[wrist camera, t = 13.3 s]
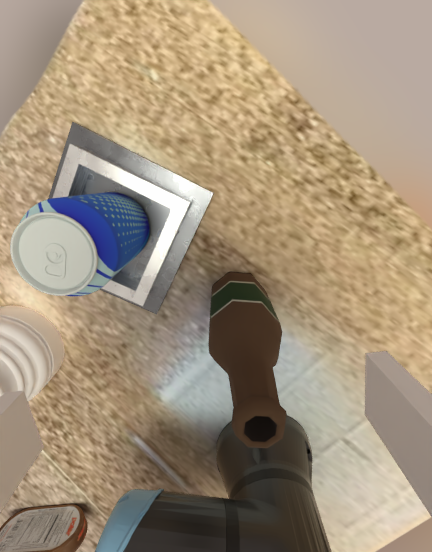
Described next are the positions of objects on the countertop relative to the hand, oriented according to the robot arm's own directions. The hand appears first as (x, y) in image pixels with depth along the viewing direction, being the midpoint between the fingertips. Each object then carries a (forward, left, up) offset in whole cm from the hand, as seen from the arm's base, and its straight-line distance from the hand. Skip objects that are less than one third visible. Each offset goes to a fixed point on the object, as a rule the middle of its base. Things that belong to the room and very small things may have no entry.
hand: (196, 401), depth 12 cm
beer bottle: (-5, -6, -30) cm, 31 cm away
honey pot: (-26, +19, -30) cm, 44 cm away
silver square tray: (-3, +12, -30) cm, 32 cm away
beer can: (-3, +12, -29) cm, 31 cm away
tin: (-56, +5, -30) cm, 64 cm away
